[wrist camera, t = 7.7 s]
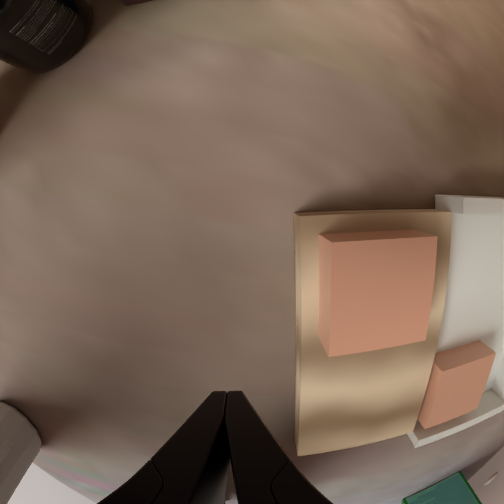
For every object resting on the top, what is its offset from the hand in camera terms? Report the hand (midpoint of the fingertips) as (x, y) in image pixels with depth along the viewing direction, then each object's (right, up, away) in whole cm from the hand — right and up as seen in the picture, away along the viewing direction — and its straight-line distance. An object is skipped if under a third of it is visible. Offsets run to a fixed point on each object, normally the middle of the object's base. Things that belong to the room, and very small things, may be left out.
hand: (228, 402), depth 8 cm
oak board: (+9, -2, +12) cm, 15 cm away
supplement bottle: (-14, +20, +7) cm, 25 cm away
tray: (+20, -1, +12) cm, 23 cm away
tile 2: (+7, +2, +9) cm, 12 cm away
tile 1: (+17, -6, +13) cm, 22 cm away
